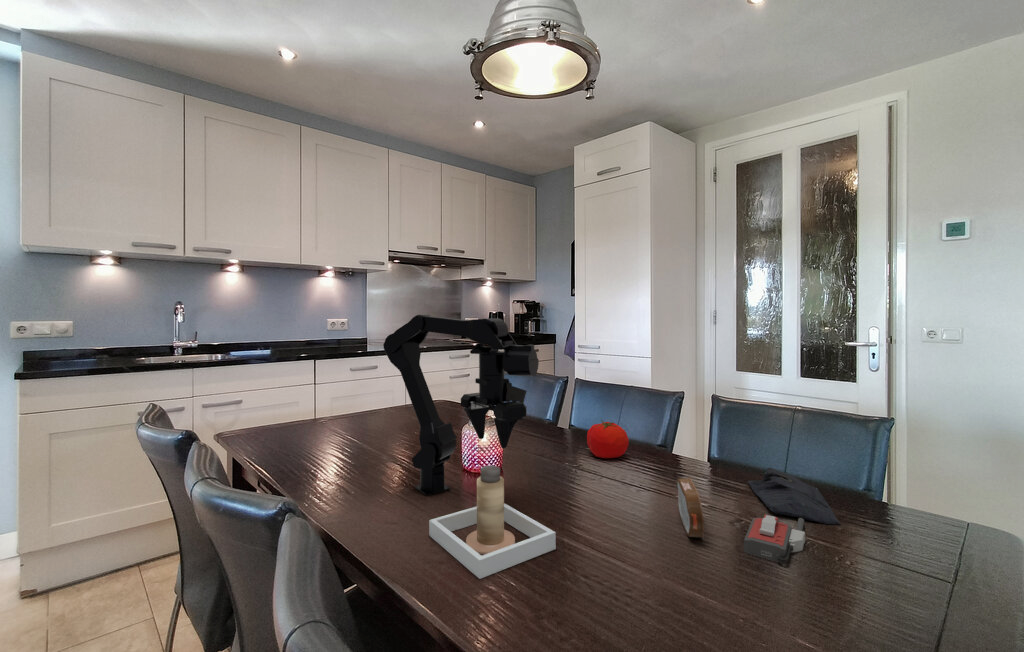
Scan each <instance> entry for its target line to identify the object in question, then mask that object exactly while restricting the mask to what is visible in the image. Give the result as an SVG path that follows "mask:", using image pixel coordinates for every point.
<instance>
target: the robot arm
mask: <svg viewBox="0 0 1024 652" xmlns="http://www.w3.org/2000/svg"><path fill="white" fill-rule="evenodd" d="M429 333H435V334H444V335H450V336H459V337H464V338H467V339H469V340H470V341H473V342H476V344H475V346H474V347H472V349H471V350H470V351H469V353H470V354H471V355H473V354H474V355H478V372H479V373H478V377H477V378H476V377H475V378H474V379H475V384H478V388H479V389H478V392H471V393H464V394H463V395H462V396H461V398H460V407H462V408H463V411H464V412H465V413H466V415H467V417H468V419H469V421H470V422H471V425H472V427H473V429H474V430H475V431H474V432H475V433H476V435H477V437H478V439H479V440H483V439H484V437H485V432H486V416H487V414H488V412H490V410H492V411H493V414H494V416H495V417H494V418H493V422H494V425H495V428H496V433H497V437H498V441H499V445H500V448H502V449H505V448H507V446H508V443H509V441H510V438H511V434H512V431H513V429H514V427H515V425H516V423H518V422H519V421H521V420H523V418H526V417H527V414H528V413H527V411H528V407H527V405H525V403H524V402H525V398H526V395H527V390H525V389H522V388H519V387H516V386H513V384H512V382H510V379H509V378H507V377H506V376H505V372H506V373H507V375H509V376H520V377H521V376H522V377H535V376H536V375H537V372H538V370H539V363H540V362H539V358H538V353H537V351H536V350H535V344H524V345H521V344H520V345H519V344H517V342H516V341H515V340H514V338H513V336H512V335H511V333H510V332H509V328H508V326H507V323H506V322H505V320H504V319H502V318H496V317H495V318H478V319H476V318H475V319H461V318H453V317H451V318H450V317H441V316H433V315H429V314H416V315H415V316H413V317H412V318H411V319H410V320H409V321H408V322H407V323H405V324H403V325H402V326H400V327H399V328H397V329H396V330H395V331H394V332H393V333H390V334H388V335H387V337H386V338H384V339H385V340H384V343H383V347H382V348H383V351H384V352H385V355H386V356H387V358H388V360H389V361H390V363H391V364H392V365H393V366H394V367H395V368H396V369H397V370H398V371H399V372H400V374H401V377H402V380H403V382H404V386H405V388H406V390H407V393H408V396H409V400H410V401H411V405H412V407H413V410H414V413H415V415H416V416H415V417H416V418H417V421H418V423H419V424H418V425H419V428H420V430H419V439H418V442H419V446H420V450H419V451H418V452H416V454H415V455H414V456H413V457H412V458H411V462H412V465H413V468H415V469H419V470H420V471H419V472H420V473H419V474H420V475H419V479H420V480H419V481H420V483H419V484H417V485H415V486H414V489H415V490H417V491H418V492H420V493H421V494H422V495H424V496H431V495H435V494H439V493H440V494H441V493H443V492H447V491H450V490H451V487H450V486H449V485H447V484H446V483H445V462H447V461H450V460H451V456H452V454H454V452H455V450H456V447H457V445H458V443H457V440H456V439H458V436H457V435H456V433H455V432H454V431H455V430H454V428H453V425H452V423H451V422H448V423H445V422H444V421H443V420H442V419H441V418H440V416H439V413H438V411H437V407H436V405H435V402H434V400H433V397H432V395H431V391H430V389H429V386H428V383H427V381H426V379H425V375H424V373H423V370H422V368H421V364H420V360H421V356H422V355H421V354H422V352H421V348H420V345H421V344H423V342H424V341H425V340H426V338H427V336H428V335H429ZM487 345H488V346H487Z"/></svg>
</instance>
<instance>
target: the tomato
mask: <svg viewBox="0 0 1024 652" xmlns="http://www.w3.org/2000/svg"><path fill="white" fill-rule="evenodd" d="M629 441H630V439H629V437H628V434H627V432H626V430H625V429H623V428H622V427H621V426H620V425H618V424H617V423H615V422H612V421H603V419H601V423H596V424H592V426H591V427H589V429H588V431H587V434H586V443H587V447H588V449H589V450H590V452H591V453H592V454H593V455H594V456H595V457H596V458H601V459H614V458H615V459H616V458H620V457H621V456H623V455H624V454H625V453H626V452H627V449H628V448H629Z"/></svg>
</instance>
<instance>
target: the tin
mask: <svg viewBox="0 0 1024 652" xmlns="http://www.w3.org/2000/svg"><path fill="white" fill-rule="evenodd" d="M676 487H677V494H678V495H677V496H678V497H677V505H678V511H679V515H680V519H681V522H682V525H683V528H684V531H685V533H686V535H687V537H688V538H701V539H704V537H705V536H704V534H705V522H704V515H703V514H704V513H703V506H702V501H701V497H700V494H699V492H698V490H697V488H696V486H695V484H694V481H693V479H692V478H691V477H689V478H678V479H677V480H676Z"/></svg>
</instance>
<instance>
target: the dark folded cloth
mask: <svg viewBox="0 0 1024 652" xmlns="http://www.w3.org/2000/svg"><path fill="white" fill-rule="evenodd" d="M747 484H748V485H749V487H750V488H751V490H752V492H753V493H754V494H755V496H757V497H758V498H759V499H760V501H762V503H763V504H764V505H765V506H766V507H767V508H768V509H769V510H770V511H771V512H773V513H774V514H776V515H782V516H787V517H794V518H798V519H799V518H803V519H804V520H805V521H806V520H807V521H810V522H816V523H820V524H825V525H838V526H839V525H841V522H840V520H839V519H838V518H837V517H836V515H835V513H834V512H833V509H832V508H831V506H830V505H829V503H828V501H827V500H826V499H825V498H824V495H822V493H821V492H820V491H819V489H818V488H817V487H815V486H813V485H811V484H807V483H806V482H804V481H802V480H800V479H798V477H796V476H793V475H792V474H789V473H786V472H783V471H780V470H777V469H776V468H772V467H768V468H766V471H765V472H764V473H763V477H762V479H760V480H759V479H758V480H754V479H753V480H747Z"/></svg>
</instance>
